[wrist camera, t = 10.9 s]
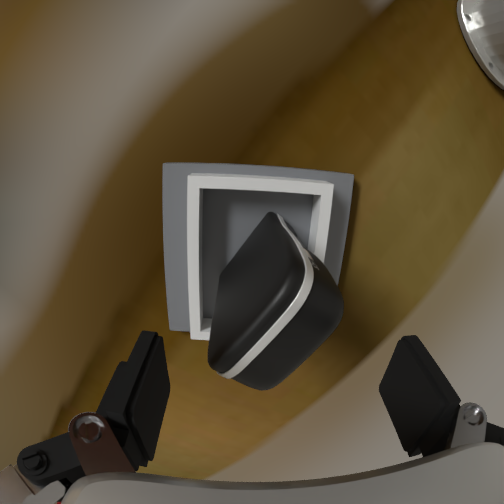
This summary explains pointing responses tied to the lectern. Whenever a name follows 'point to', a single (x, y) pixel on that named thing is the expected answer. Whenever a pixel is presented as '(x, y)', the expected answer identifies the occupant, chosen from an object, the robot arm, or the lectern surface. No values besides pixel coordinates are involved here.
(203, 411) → the lectern surface
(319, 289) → the battery charger
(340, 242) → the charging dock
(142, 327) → the lectern surface
